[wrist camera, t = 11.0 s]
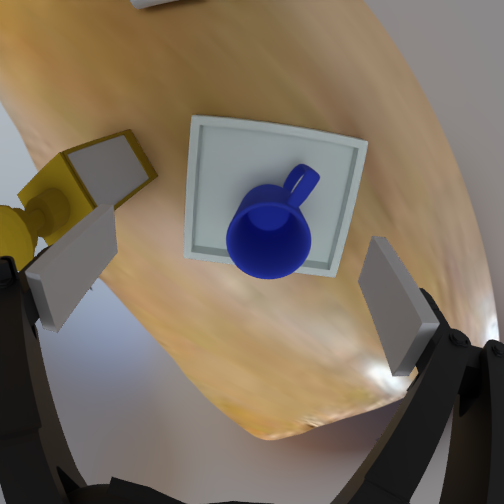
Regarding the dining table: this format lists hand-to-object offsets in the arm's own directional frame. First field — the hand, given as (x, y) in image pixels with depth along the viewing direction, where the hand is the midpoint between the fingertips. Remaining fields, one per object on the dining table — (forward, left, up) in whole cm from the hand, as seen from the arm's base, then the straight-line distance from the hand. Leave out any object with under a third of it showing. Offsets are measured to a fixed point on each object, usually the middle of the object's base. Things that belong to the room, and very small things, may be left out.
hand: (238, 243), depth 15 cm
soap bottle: (+1, -19, -24) cm, 31 cm away
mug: (+4, +3, -24) cm, 24 cm away
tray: (+5, +2, -24) cm, 25 cm away
